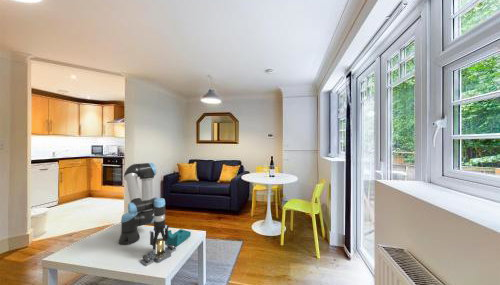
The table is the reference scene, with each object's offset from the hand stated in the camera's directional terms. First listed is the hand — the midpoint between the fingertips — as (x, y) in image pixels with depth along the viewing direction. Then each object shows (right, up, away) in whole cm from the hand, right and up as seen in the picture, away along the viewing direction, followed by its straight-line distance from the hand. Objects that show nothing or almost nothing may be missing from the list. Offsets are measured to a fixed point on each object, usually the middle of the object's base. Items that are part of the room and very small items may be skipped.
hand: (159, 251), depth 145 cm
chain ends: (0, -4, 0) cm, 4 cm away
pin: (0, -4, 0) cm, 4 cm away
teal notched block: (+6, -4, +23) cm, 24 cm away
